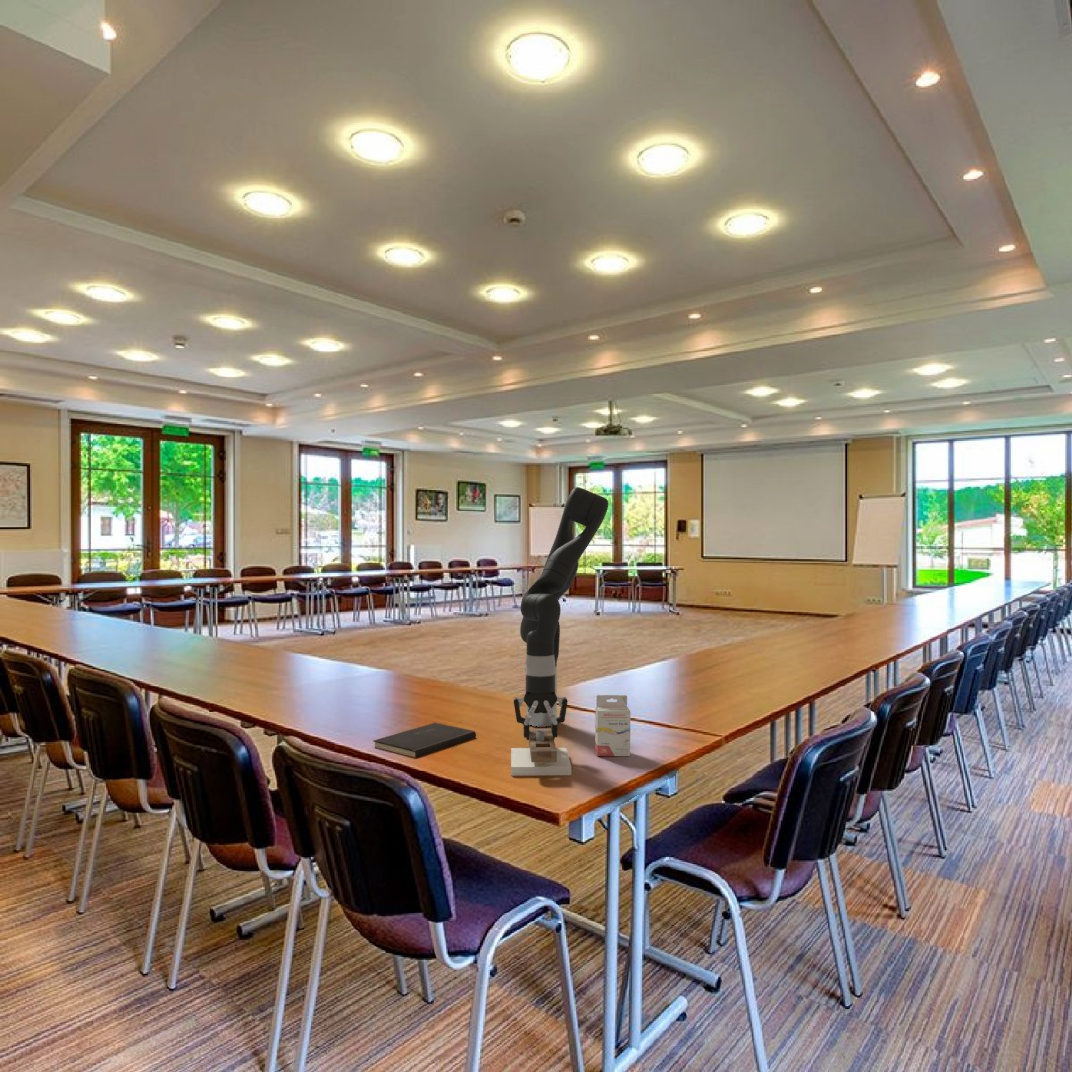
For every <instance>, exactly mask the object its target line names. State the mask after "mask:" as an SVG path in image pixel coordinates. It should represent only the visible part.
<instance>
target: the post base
mask: <svg viewBox="0 0 1072 1072" xmlns="http://www.w3.org/2000/svg"><path fill="white" fill-rule="evenodd" d="M536 741H544V732H543V731H537V732H536ZM567 749H568V748H567V747H556V750H557V762H531V755H530V747H511V748H510V753H511V754H510V756H511V757H510V764H511V765H510V776H513V777H514V776H515V777H517V776H521V777H523V776H527V777H529V776H534V777H535V776H537V777H538V776H572V765H571V764H572V763H571V760H570V756H569V752H568V750H567Z"/></svg>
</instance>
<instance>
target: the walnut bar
mask: <svg viewBox="0 0 1072 1072" xmlns="http://www.w3.org/2000/svg"><path fill="white" fill-rule="evenodd" d="M537 731H543V732H544V741H536V732H537ZM528 745H529V747H528V748H530V755H531V762H557V750H556V748H557V747H556V743H555V740H554V738H553V734H552V732H551V727H550V728H548V727H546V728H545V727H537V728H529V740H528Z"/></svg>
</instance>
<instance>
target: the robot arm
mask: <svg viewBox="0 0 1072 1072" xmlns="http://www.w3.org/2000/svg"><path fill="white" fill-rule="evenodd" d="M608 509H609V500H608V499H607V498H605V497H603V496H601V495H599V494H596V493H594V492H592V491H590V490H588V489H585V488H582V487H580V486H579V487H578V486H576V487H574V488H573V489H572V490H571V491H570V493H569V495H568V497H567V499H566V502H565V505H564V509H563V511H562V515H561V518H560V523H559V525H558V529H557V531H556V536H555V538H554V541H553V544H552V546H551V547H550V548H551V549H550V550H549V553H548V555H547V558H546V560H545V564H544V566H543V569H542V572H541V574H540V575H539V577H538V578H536V579H535V581H534V582H533V584H532V585H531V586H530V587H529V588H528V589H527V591H525V593H524V595H523V597H522V599H521V602H520V613H521V615H522V619H521V622H520V627H519V630H520V631H519V633H520V637H521V641H523V642H525V643H526V657H525V658H526V659H525V668H524V669H525V694H524V695H523V697H514V698H513V706H514V711H515V712H514V713H515V718H516V722H517V723H518V724H522V725H523V738H526V741H529V729H530V725H532V726H531V727H536V726H537V728H545V727H546V726H547V727H550V728H551V732H552V734H553V738H554V741H555V738H557V737H558V725H559V724H562V723H564V722H565V721H566V714H567V707H568V703H569V700H568V698H567V697H566V696H563V697H560V696H558V692H557V691H558V690H557V689H558V688H557V687H558V683H557V682H558V677H557V676H558V675H557V674H558V671H557V669H558V666H557V665H558V658H559V653H560V637H561V635H560V634H561V629H560V628H561V627H560V617H561V610H562V609H561V604H560V599H561V597H562V596H564V594H566V592H567V591H568V590H569V589H570V588H571V586H572V584H573V582H574V580H575V577H576V574H577V572H578V569H579V560H580V558H581V557H582V555H583V554H584V553H585V551H586V550H587V548H588V546H589V545H590V543H591V542H592V540H593V538H594V537H595V535H596V534H597V532H598V530H599V528H600V527H601V525H602V523H603V521H604V520H605V517H606V514H607V512H608ZM574 522H575V523H577V524H578V525H579V524H580V525H582V526H583V527H585V528H584V529H583V531H582V532H580V534H578V535H577V536H576V537H575V538H574V535H573V526H574V525H573V524H574ZM524 703H525V717H522V714H521V707H522V706H523V704H524ZM557 706H560V709H559V716H558V715H557V713H558V712H557V711H558V709H557V708H558V707H557ZM547 727H546V728H547Z"/></svg>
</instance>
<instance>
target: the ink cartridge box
mask: <svg viewBox="0 0 1072 1072" xmlns="http://www.w3.org/2000/svg"><path fill="white" fill-rule="evenodd" d="M611 699H612V700H615V701H609V700H611ZM595 703H596V705H595V721H594V722H595V723H594V724H595V730H594V731H595V732H594V733H595V734H594V738H595V739H594V752H595V754H596V756H597V757H598V756H631V709H630V708H629V707H628V695H626V694H625V695H624V694H623V695H622V694H621V695H620V694H617V695H616V694H602V695H601V694H597V695H596V702H595Z"/></svg>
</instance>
